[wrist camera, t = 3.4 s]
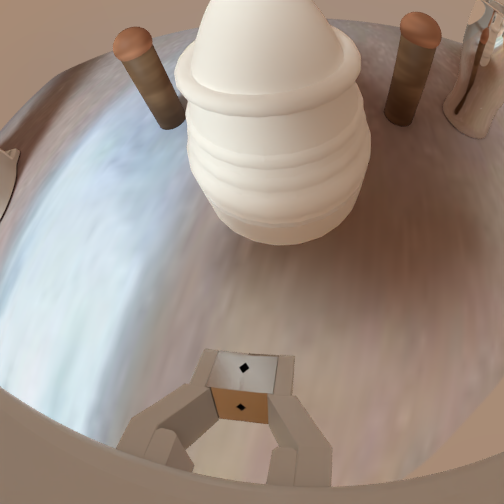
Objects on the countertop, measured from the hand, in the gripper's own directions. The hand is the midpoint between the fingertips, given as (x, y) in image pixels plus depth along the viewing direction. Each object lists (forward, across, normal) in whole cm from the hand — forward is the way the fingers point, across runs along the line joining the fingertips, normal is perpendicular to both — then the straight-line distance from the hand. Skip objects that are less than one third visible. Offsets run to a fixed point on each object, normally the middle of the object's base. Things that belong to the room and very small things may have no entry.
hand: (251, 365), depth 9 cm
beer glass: (+24, -20, -9) cm, 33 cm away
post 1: (+22, +12, -8) cm, 27 cm away
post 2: (+23, -11, -8) cm, 27 cm away
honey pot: (+18, 0, -3) cm, 18 cm away
